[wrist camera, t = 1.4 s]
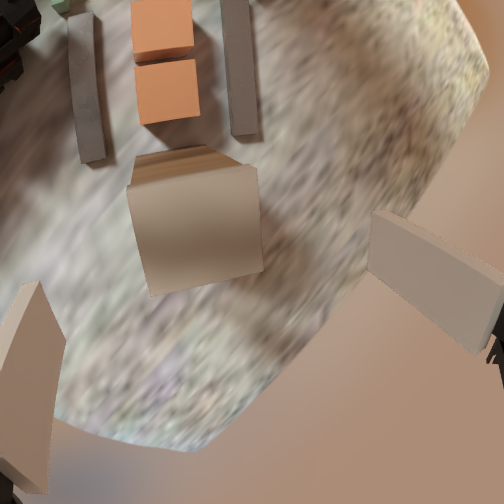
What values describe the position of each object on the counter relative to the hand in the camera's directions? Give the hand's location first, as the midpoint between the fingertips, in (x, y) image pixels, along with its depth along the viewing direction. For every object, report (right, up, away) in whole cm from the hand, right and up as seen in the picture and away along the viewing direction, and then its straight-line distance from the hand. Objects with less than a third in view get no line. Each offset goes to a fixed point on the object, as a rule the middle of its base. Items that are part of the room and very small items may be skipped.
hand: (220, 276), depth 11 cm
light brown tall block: (-5, +7, +13) cm, 16 cm away
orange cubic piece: (-6, +13, +10) cm, 17 cm away
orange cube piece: (-6, +17, +8) cm, 20 cm away
